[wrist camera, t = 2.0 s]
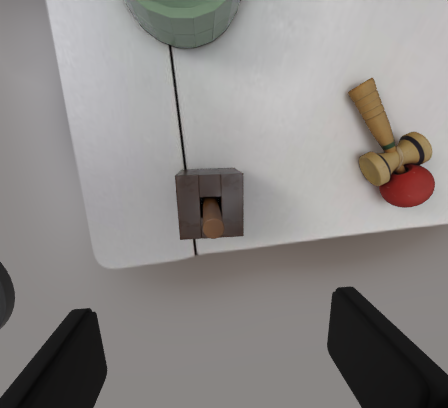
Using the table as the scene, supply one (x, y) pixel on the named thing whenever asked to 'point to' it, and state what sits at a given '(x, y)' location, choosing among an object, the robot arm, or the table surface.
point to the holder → (209, 187)
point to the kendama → (393, 154)
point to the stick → (212, 218)
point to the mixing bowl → (184, 19)
